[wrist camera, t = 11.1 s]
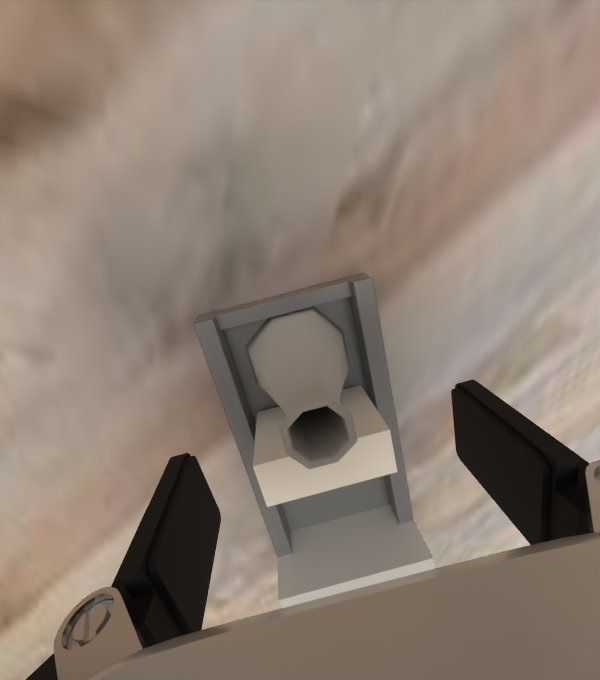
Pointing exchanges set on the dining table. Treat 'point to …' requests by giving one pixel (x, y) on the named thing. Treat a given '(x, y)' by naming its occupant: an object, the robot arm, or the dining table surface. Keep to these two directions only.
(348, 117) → the dining table surface
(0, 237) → the dining table surface
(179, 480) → the robot arm
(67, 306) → the dining table surface
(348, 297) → the grey rectangular tray
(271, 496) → the pusher
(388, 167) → the dining table surface
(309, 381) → the flask
